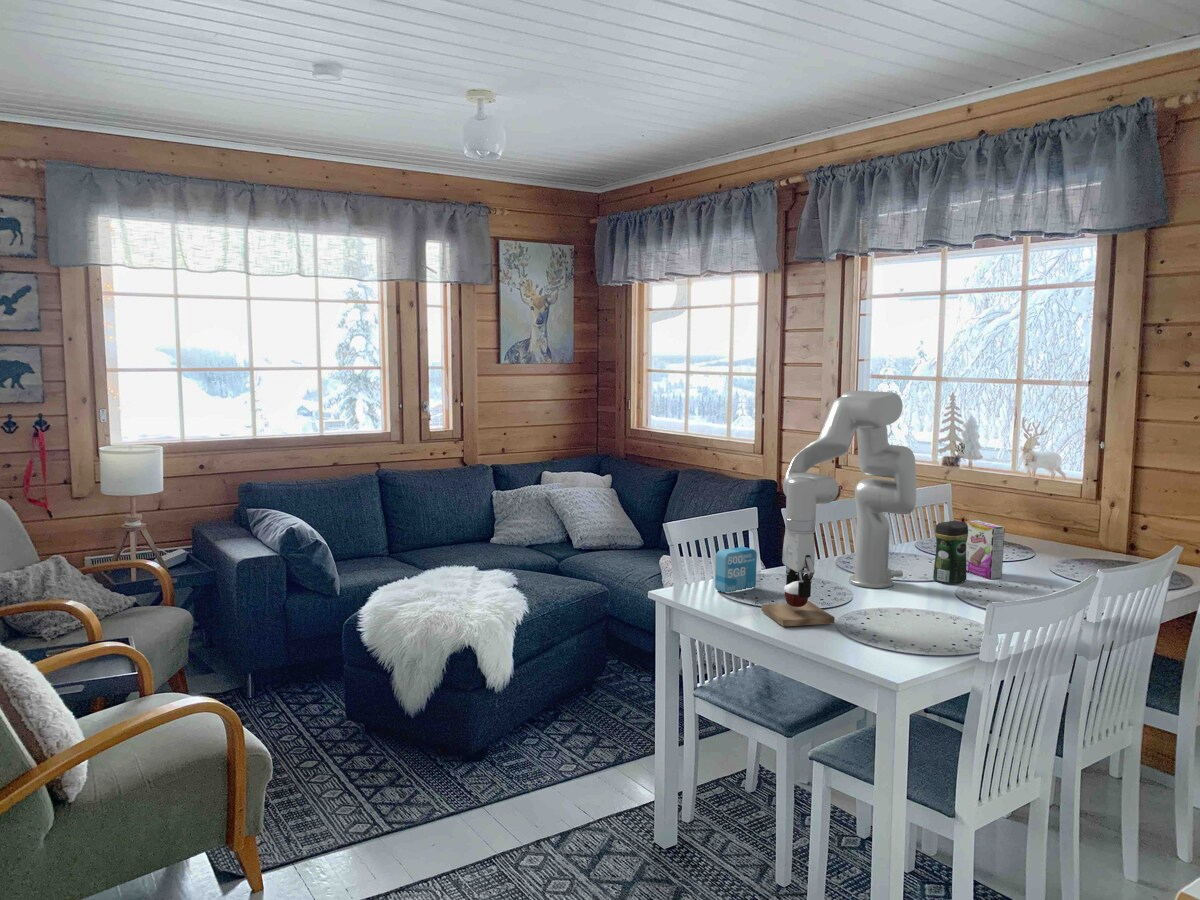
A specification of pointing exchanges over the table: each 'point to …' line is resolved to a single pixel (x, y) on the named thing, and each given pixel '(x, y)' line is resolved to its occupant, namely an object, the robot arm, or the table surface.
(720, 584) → the data package
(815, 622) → the stand
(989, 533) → the candy bar box
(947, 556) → the coffee jar
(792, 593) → the cocoa
